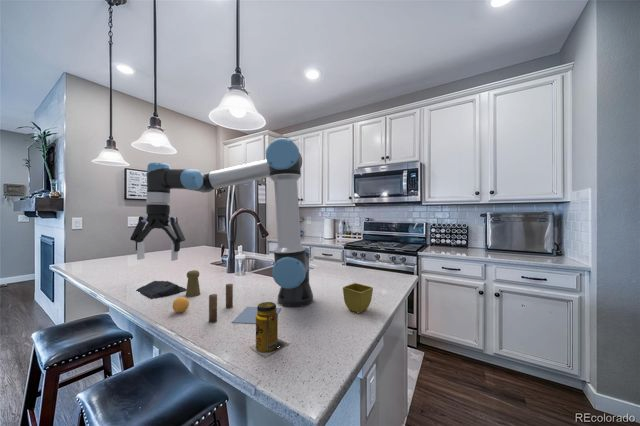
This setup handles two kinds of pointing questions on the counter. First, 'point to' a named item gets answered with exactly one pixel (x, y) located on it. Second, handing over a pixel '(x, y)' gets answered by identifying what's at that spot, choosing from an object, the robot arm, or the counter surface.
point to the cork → (192, 284)
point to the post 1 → (212, 308)
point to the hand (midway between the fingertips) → (157, 259)
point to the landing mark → (249, 315)
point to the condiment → (267, 330)
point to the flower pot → (357, 296)
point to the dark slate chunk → (160, 289)
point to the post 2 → (229, 295)
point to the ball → (180, 304)
